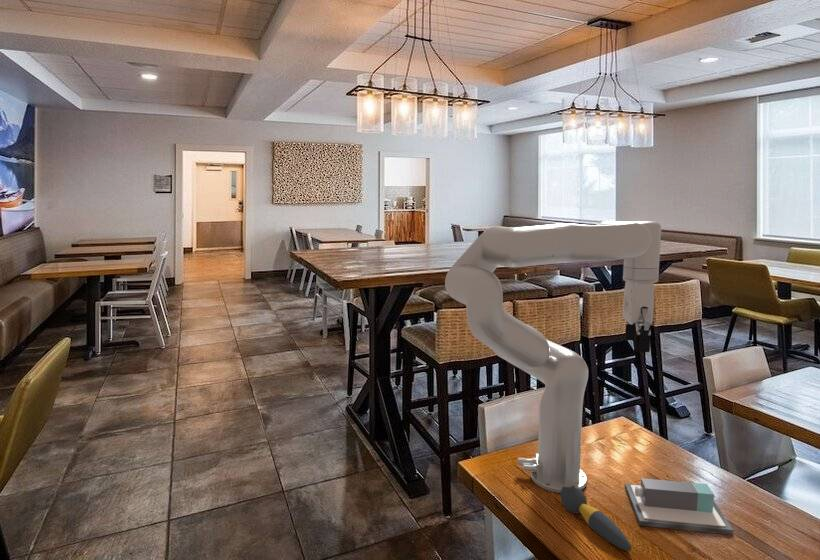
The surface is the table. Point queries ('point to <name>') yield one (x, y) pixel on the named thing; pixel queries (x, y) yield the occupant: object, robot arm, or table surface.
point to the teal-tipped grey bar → (676, 495)
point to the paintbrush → (593, 517)
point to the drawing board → (678, 516)
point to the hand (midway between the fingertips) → (636, 345)
